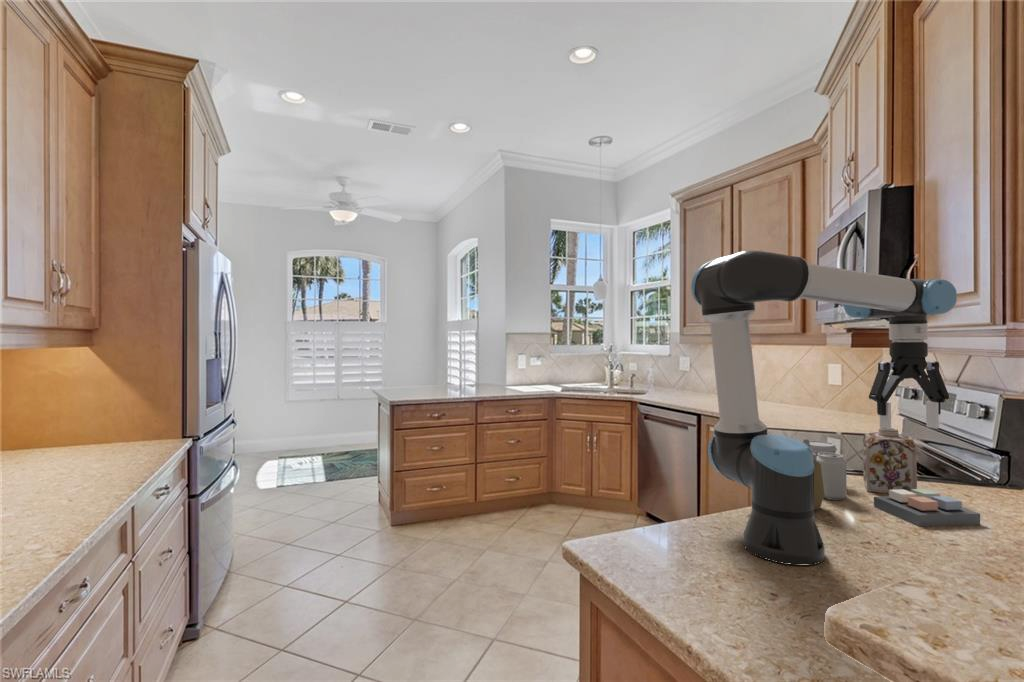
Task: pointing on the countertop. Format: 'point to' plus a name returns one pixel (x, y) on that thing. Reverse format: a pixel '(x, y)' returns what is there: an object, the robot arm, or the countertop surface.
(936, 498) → the slate key
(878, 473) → the decorative jar
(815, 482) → the squeeze bottle
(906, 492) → the cream key
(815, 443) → the disposable coffee cup
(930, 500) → the terracotta key
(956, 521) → the keypad
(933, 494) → the sage key
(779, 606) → the countertop surface
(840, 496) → the can
